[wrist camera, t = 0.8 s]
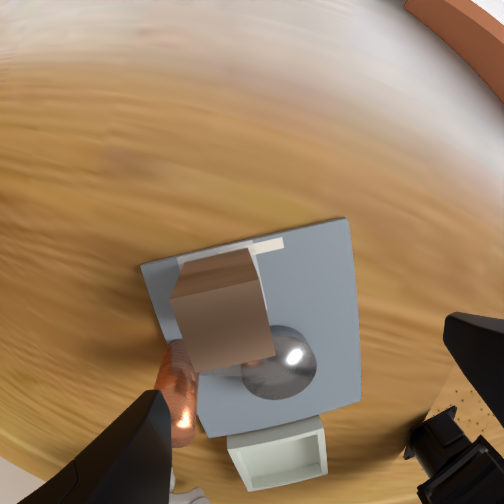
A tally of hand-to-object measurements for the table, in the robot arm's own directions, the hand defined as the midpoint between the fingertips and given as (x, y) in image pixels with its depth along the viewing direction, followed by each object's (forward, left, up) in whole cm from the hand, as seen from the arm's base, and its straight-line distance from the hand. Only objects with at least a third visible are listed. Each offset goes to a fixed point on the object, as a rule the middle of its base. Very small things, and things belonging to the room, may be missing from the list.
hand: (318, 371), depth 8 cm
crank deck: (-7, +1, -12) cm, 14 cm away
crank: (-7, +1, -11) cm, 13 cm away
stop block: (-1, +3, -12) cm, 12 cm away
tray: (-19, +2, -12) cm, 23 cm away
